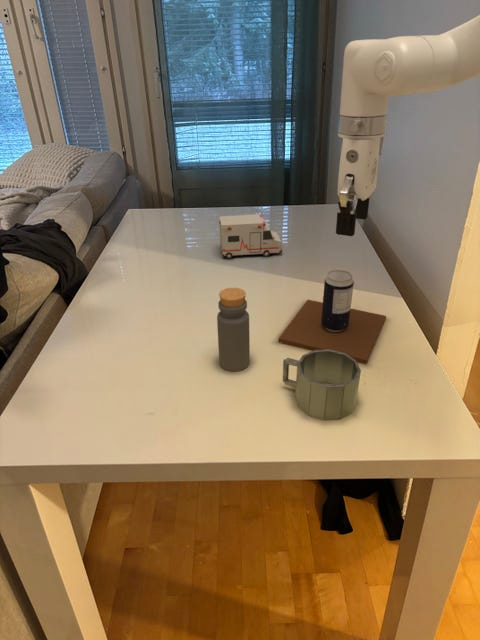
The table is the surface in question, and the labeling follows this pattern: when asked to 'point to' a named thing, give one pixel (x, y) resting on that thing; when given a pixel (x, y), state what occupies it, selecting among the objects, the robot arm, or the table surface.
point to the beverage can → (337, 300)
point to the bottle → (233, 330)
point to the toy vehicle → (247, 236)
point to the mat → (350, 340)
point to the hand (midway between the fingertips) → (352, 226)
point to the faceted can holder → (322, 397)
